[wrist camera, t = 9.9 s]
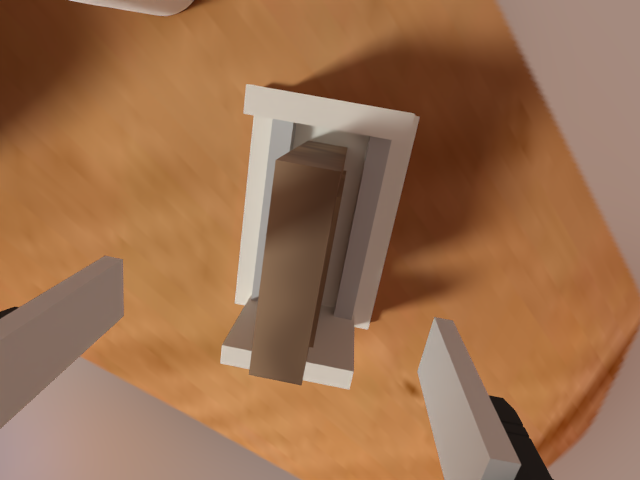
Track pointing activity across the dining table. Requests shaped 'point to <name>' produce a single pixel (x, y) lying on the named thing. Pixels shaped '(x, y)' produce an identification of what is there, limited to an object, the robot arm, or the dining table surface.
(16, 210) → the dining table surface
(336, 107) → the track frame
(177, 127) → the dining table surface
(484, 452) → the robot arm
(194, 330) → the dining table surface
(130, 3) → the cup
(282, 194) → the door panel
